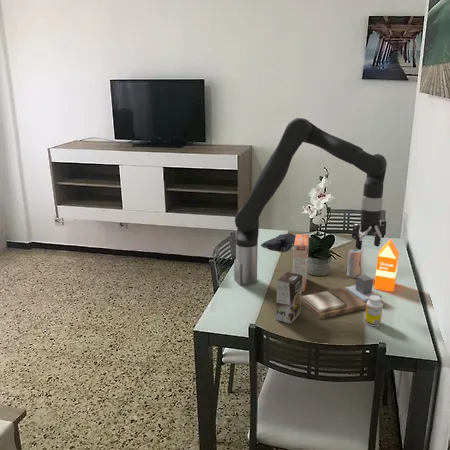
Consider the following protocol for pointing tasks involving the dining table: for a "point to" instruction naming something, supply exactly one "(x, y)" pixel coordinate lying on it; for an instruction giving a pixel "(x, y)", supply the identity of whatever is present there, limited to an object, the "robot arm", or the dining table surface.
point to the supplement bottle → (373, 311)
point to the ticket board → (332, 302)
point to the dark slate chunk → (280, 242)
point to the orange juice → (387, 267)
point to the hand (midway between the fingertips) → (367, 247)
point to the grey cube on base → (363, 288)
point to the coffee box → (288, 297)
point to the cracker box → (301, 257)
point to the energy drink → (354, 263)
